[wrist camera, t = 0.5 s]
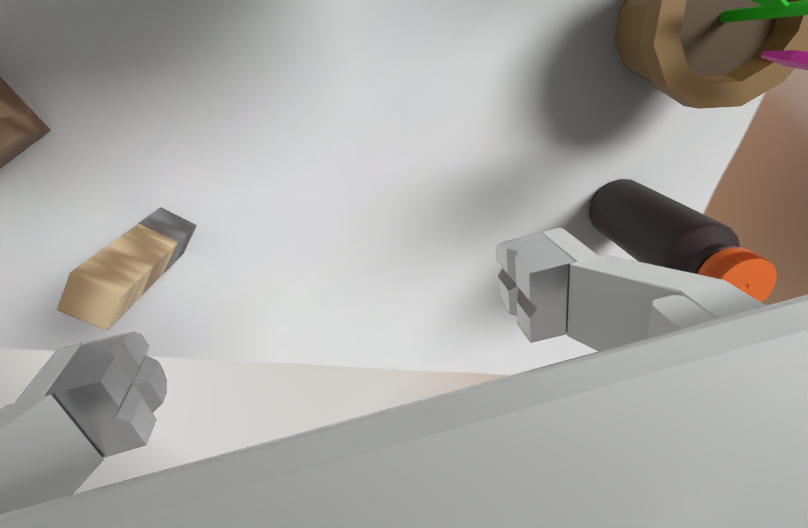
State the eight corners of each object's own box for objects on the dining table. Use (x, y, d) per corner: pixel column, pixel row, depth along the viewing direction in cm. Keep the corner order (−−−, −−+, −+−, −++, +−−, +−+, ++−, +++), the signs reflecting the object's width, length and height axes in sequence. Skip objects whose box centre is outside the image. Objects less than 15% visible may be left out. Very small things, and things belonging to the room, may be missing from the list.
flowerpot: (573, 82, 45) (867, 122, 18) (632, -85, 39) (1198, -392, 12) (693, 112, 47) (1115, 188, 20) (766, -42, 41) (1499, -223, 14)
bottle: (629, 237, 53) (758, 329, 35) (579, 226, 52) (685, 316, 34) (654, 184, 51) (808, 255, 33) (602, 172, 50) (731, 239, 32)
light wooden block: (196, 225, 49) (123, 294, 35) (183, 253, 51) (107, 331, 36) (160, 207, 48) (69, 271, 34) (148, 236, 50) (56, 310, 35)
